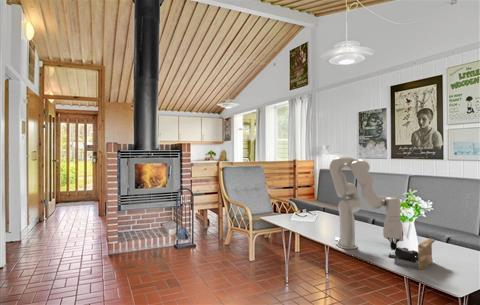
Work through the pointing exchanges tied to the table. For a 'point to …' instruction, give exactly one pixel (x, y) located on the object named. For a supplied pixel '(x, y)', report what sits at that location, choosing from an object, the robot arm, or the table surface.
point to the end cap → (406, 254)
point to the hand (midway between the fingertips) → (393, 249)
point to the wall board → (425, 253)
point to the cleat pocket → (406, 263)
